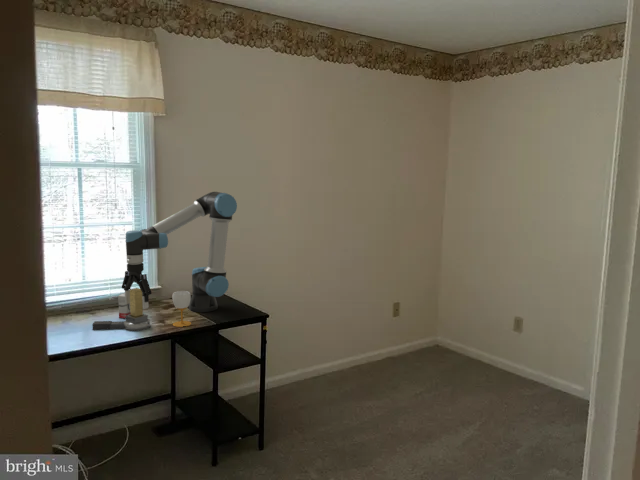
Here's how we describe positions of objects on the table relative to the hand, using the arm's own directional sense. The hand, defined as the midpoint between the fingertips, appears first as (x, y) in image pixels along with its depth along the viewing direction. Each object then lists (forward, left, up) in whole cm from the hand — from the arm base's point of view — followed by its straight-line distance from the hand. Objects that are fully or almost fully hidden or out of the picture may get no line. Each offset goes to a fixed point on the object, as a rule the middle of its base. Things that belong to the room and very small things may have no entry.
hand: (137, 305), depth 260 cm
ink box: (+8, -19, -11) cm, 23 cm away
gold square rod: (0, 0, -8) cm, 8 cm away
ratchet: (+7, 0, -11) cm, 13 cm away
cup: (-21, -3, -11) cm, 24 cm away
